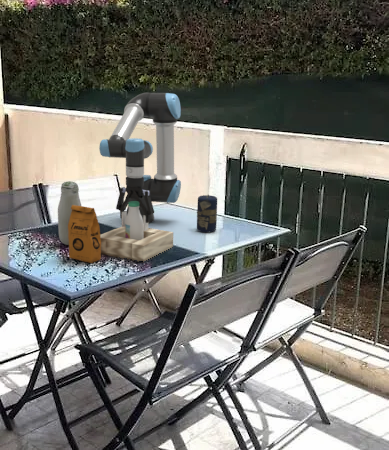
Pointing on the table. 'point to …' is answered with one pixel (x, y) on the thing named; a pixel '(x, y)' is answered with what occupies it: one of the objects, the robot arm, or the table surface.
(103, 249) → the well block
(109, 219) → the table surface
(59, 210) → the glass bottle
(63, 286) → the table surface
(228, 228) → the table surface
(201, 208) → the canister
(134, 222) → the milk bottle
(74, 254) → the coffee package
